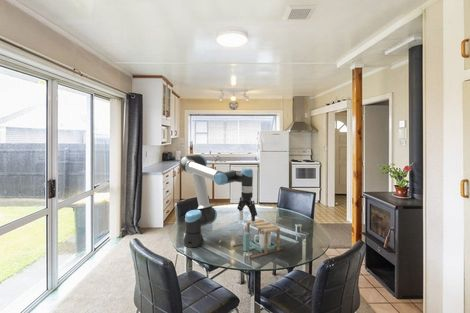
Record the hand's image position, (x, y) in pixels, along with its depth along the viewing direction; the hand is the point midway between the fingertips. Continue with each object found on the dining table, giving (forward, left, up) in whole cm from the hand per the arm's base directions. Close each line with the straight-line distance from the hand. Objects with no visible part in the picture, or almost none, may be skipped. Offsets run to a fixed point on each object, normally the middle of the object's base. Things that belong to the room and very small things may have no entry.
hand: (246, 222), depth 178 cm
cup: (0, +14, -20) cm, 24 cm away
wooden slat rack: (0, +10, -20) cm, 22 cm away
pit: (0, +27, -20) cm, 33 cm away
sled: (0, +10, -20) cm, 22 cm away
